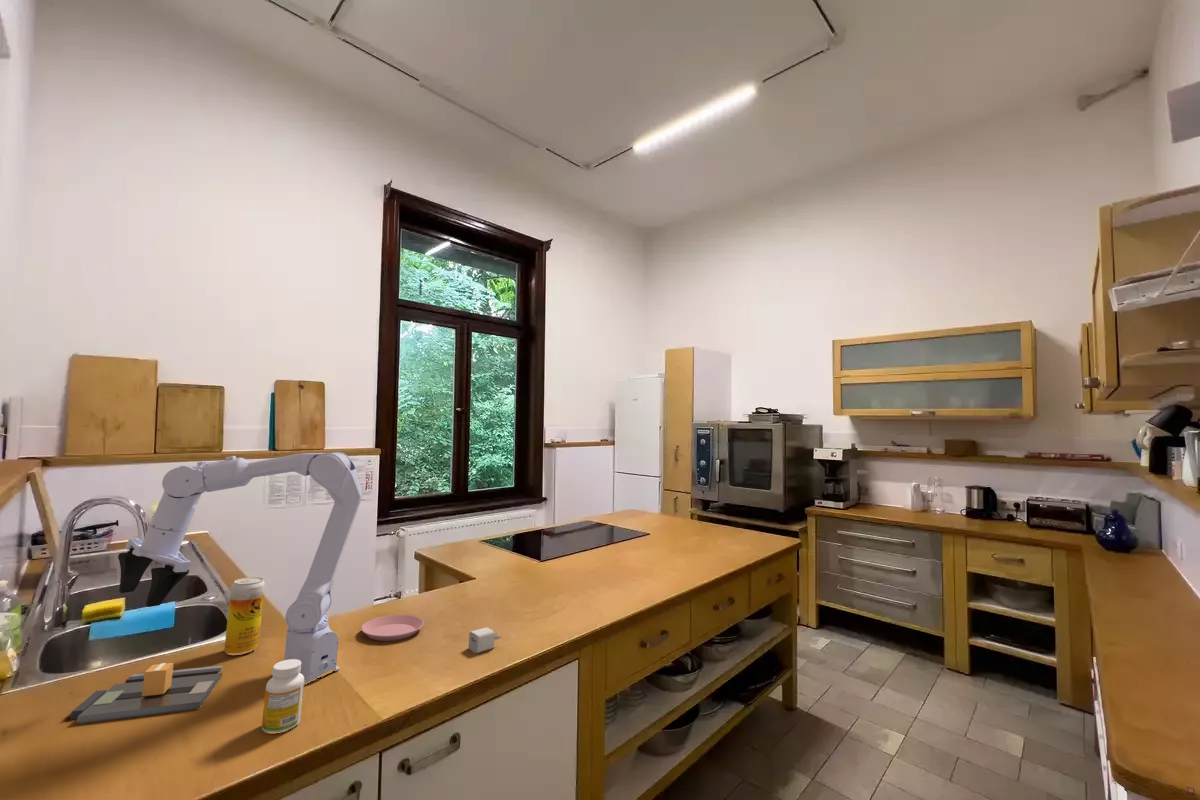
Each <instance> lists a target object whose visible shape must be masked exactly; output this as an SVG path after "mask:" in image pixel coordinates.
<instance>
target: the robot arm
mask: <svg viewBox="0 0 1200 800" xmlns="http://www.w3.org/2000/svg"><path fill="white" fill-rule="evenodd" d="M293 472H294V473H297V474H298V475H301V476H303V477H307V476H310V478H311V480H313V481H314V482H315V483H316V484H318V485H319V486H321V487H322V488H324V489H325V490H326V491H327V492H328V494H329V495H330V497H331V498H332V500H333V502H334V503H333V505H332V509H331V511H330V514H329V517H328V520H327V522H326V525H325V528H324V530H323V533H322V535H321V539H320V541H319V544H318V547H317V549H316V552H315V554H314V555H315V556H314V557H313V560H312V563H311V565H310V568H309V571H308V574H307V576H306V579H305V581H304V582H303V584H302V586H301V588H300V591H299V593H298V596H297V597H296V599H295V601H293V602H292V603H291V604H290V606H289V607H288V608H287V610H286V612H285V622H286V625H287V629H286V637H285V638H286V639H285V648H284V649H285V650H284V660H289V659H297V660H300V661H301V670H300V672H299V673H301V674H302V675H303V676H304V680H306V681H304V683H307V682H309V681H311V680H313V679H315V678H317V677H318V676H321V675H322V674H324V673H326V672H328V671H330V670H336V671H335V672H337V671H339V670H340V666H339V665H337V662H338V651H339V637H338V635H337V633H336V632H335V631H333V630H331V628H330V626H329V622H330V621H329V618H328V616H327V615H326V612H327V611H328V610H329V609H330V608H331V605H332V604H333V603H332V602H333V597H332V589H333V585H334V578H335V574H336V573H337V570H338V566H339V563H340V561H341V558H342V556H343V553H344V550H345V547H346V544H347V541H348V538H349V536H350V533H351V530H352V527H353V524H354V521H355V519H356V516H357V513H358V510H359V509H360V504H361V502H362V500H363V491H362V487H361V483H360V481H359V477H358V476H359V475H358V471H357V465H356V464H355V463H354V462H353V460H352V459H351V458H350V457H349V455H347V453H344V452H341V451H332V452H309V453H303V452H302V453H297V454H291V455H286V456H281V457H275V458H269V459H264V460H259V461H255V462H254V461H253V462H252V461H248V460H247V459H246V458H244V457H236V455H231V456H226V457H225V459H224V460H218V461H217V460H216V461H212V462H207V461H204V460H202V461H197V464H196V465H180V466H178V467H175V468H173V469H170V470H169V471H167V472H166V473H165V475H163V478H162V483H161V485H162V486H161V487H162V488H163V490H164V491H163V494H162V496H161V497H160V500H159V502H158V504H157V507H156V510H155V511H154V514H153V517H152V519H151V521H150V523H149V526H148V529H147V531H146V534H145V535H144V538H139V537H136V538H134V537H133V538H128V541H127V542H126V546H125V547H124V548H125V550H127V552H120V553H118V556H117V558H118V562H119V566H120V567H119V568H120V580H119V589H118V590H119V591H118V592H119V593H120V594H124V593H133V592H134V591H135V590H136V589H137V587H138V585H139V584H140V582H141V580H142V578H143V576H144V574H145V572H146V570H147V569H148V568H149V566H150V565H151V564H152V562H153V561H156V562H158V563H159V564H162V565H164V567H163V566H162V567H154V568H153V567H152V568H151V570H150V573H151V584H150V588H149V591H148V592H149V593H148V594H147V597H146V601H145V602H146V603H145V607H148V608H151V607H152V608H153V607H158V606H161V604H162V603H163V602H164V600H165V599H166V597H167V596H168V595H169V594H170V592H171V591H172V589H174V587H175V586H176V585H177V584H178V583H179V582H180V581H181V580H182V579H184V578H185V577H186V576H188V575H189V573H190V569H189V567H190V564H191V563H192V562H191V560H189V559H187V558H186V557H185V556H184V554H182V552H181V551H180V548H181V546H182V543H183V541H184V539H185V536H186V534H187V532H188V529H189V527H190V524H191V521H192V519H193V516H194V514H195V512H196V509H197V506H198V503H199V501H200V498H201V495H202V494H204V493H205V492H206V493H210V492H211V493H212V492H217V491H222V490H229V489H235V488H240V487H245V486H247V485H248V484H249V483H250V482H251V480H252V479H254V478H259V477H266V476H273V475H280V474H285V473H286V474H287V473H293ZM284 660H283V661H284Z"/></svg>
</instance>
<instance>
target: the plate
mask: <svg viewBox="0 0 1200 800" xmlns="http://www.w3.org/2000/svg"><path fill="white" fill-rule="evenodd" d="M424 622H425V621H424V619H422V618H421V617H419V616H416V615H411V614H410V615H409V614H389V615H385V616H384V615H383V616H377V617H375V618H372V619H370V620H368V621H366V622H364V623H363V624H362V625H361V626H360V629H361V632H362V633H364V634H365V635H366V636H367V637H368V638H369V639H371V640H373V641H379V642H394V641H399V640H403V639H407V638H410V637H412V636H413V635H415V634H416V633H417V632H418V631H419V630H420V629H421V628H422V627H423V626H424V624H425V623H424Z"/></svg>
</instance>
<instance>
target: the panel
mask: <svg viewBox="0 0 1200 800" xmlns="http://www.w3.org/2000/svg"><path fill="white" fill-rule="evenodd" d="M222 676H223V674H222V672H221V673H219V674H209V675H200V676H190V677H180V678H172V682H171V686H170V688H169V689H168V690H167V691H166V692H165V693H164V694H159V695H150V696H142V690H143V682H144V681H142V682H132V683H115V684H113V685H112V686H111V687H110V688H108V689H107V691H106V692H105V693H104V694H103V695H102V696H101V697H100V698H98V699H97V700H96V701H95V702H94V703H93V704H92V705H90V706H89V707H88V708H87V709H86V710H85V711H83V712H82V713H81V714H80V715H79V716H78V718H77V720H76V725H82V724H89V723H98V722H99V723H100V722H107V721H114V720H121V719H129V718H131V719H132V718H139V717H146V716H154V715H163V714H170V713H179V712H187V711H186V710H188V711H192V710H191V709H196V710H198V709H197V708H200V706H201V705H202V704H203V702H204V701H205V700H207V699H208V698H209V697H210V695H211V694H212V693H211V691H212V689H213V688H214V687H215V685H216V684H217V683H218V681H219V680H220V678H221V679H222ZM218 684H219V683H218ZM215 688H216V687H215ZM212 692H213V691H212ZM210 693H211V694H210ZM209 694H210V695H209ZM208 696H209V697H208ZM207 697H208V698H207ZM206 698H207V699H206ZM205 702H206V701H205ZM205 702H204V703H205ZM203 705H204V704H203ZM203 705H202V706H203ZM202 706H201V707H202ZM200 709H201V708H200Z"/></svg>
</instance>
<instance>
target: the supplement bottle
mask: <svg viewBox="0 0 1200 800" xmlns="http://www.w3.org/2000/svg"><path fill="white" fill-rule="evenodd" d="M300 670H301V661H300V660H297V659H289V660H280V661H279V662H276V663H275V664H274V665H273V667H272V672H273V674H272V673H271V676H272V677H271V678H270V679H269V680H268V681H267V683H266V685H265V693H264V702H263V710H262V711H263V713H262V722H261V730H262V729H263V730H264V731H266V732H281V731H284V730H287V729H291V728H293V727H295V726H296V725H297V726H298V725H299V724H300V722H301V718H302V710H303V699H304V698H303V697H304V687H305V685H304V676H303V675H302V674H301V673H299V672H300ZM297 726H296V727H297ZM296 727H295V728H296ZM293 729H294V728H293ZM263 730H262V731H263ZM291 730H292V729H291Z"/></svg>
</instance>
